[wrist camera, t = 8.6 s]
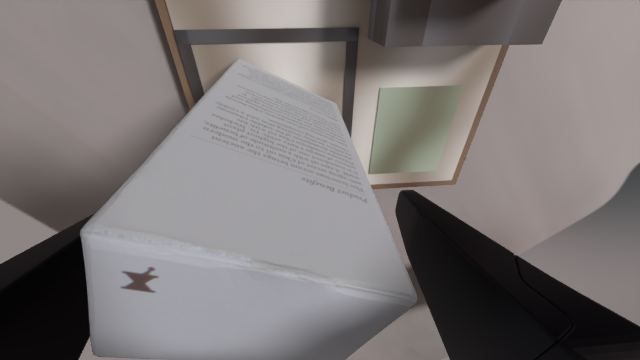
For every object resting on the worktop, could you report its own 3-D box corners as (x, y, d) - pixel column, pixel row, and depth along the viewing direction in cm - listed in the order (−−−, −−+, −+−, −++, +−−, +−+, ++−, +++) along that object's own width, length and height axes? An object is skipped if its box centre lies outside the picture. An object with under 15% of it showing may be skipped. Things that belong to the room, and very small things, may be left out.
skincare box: (218, 126, 15) (76, 360, 5) (237, 55, 13) (58, 224, 3) (310, 160, 17) (333, 377, 7) (340, 103, 15) (430, 300, 5)
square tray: (220, 191, 19) (205, 229, 16) (105, -186, 9) (0, -291, 6) (449, 178, 20) (479, 211, 17) (576, -167, 10) (706, -244, 7)
